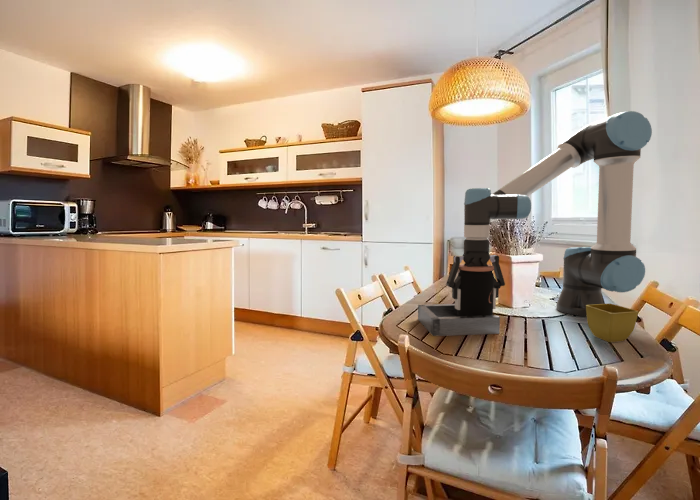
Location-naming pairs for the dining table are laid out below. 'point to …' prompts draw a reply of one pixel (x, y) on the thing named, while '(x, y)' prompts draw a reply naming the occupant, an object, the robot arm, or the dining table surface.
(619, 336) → the flower pot
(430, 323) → the channel
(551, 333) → the dining table surface
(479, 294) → the coffee jar
